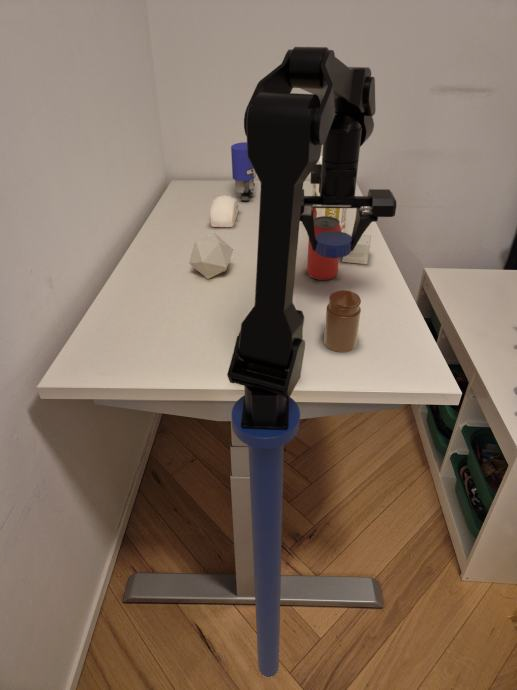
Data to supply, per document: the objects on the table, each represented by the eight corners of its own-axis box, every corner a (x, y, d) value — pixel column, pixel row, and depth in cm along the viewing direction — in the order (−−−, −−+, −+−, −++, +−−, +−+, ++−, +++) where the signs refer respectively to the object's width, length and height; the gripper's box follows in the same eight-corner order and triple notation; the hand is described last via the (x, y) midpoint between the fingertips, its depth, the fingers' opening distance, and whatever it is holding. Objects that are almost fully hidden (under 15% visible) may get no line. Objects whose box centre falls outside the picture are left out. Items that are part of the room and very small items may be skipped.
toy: (252, 204, 137) (251, 150, 128) (230, 202, 138) (227, 149, 129) (258, 194, 144) (258, 142, 135) (237, 193, 145) (235, 141, 136)
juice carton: (338, 231, 120) (345, 153, 109) (345, 245, 113) (353, 164, 102) (309, 232, 120) (312, 154, 108) (314, 246, 113) (318, 165, 102)
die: (217, 262, 108) (187, 232, 102) (246, 251, 103) (216, 219, 97) (206, 290, 104) (174, 261, 98) (235, 280, 98) (204, 248, 92)
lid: (338, 240, 86) (339, 228, 85) (358, 253, 81) (359, 241, 80) (307, 246, 84) (308, 234, 83) (326, 261, 79) (327, 248, 78)
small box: (368, 254, 109) (371, 234, 106) (367, 265, 104) (370, 244, 101) (344, 252, 110) (346, 232, 107) (341, 262, 106) (343, 242, 103)
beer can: (302, 278, 100) (305, 224, 93) (311, 265, 105) (314, 213, 98) (333, 283, 98) (337, 229, 91) (340, 270, 103) (345, 217, 96)
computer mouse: (239, 211, 133) (238, 189, 129) (233, 229, 122) (232, 205, 118) (217, 210, 133) (215, 188, 129) (209, 228, 123) (207, 205, 119)
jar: (358, 352, 79) (364, 307, 73) (325, 352, 79) (328, 306, 74) (354, 333, 83) (359, 289, 78) (322, 333, 83) (326, 289, 78)
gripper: (391, 145, 79) (379, 232, 89) (282, 145, 81) (281, 231, 90) (404, 164, 71) (388, 258, 80) (280, 164, 72) (279, 257, 81)
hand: (332, 250), depth 83 cm, fingers closed on lid, 6 cm apart
